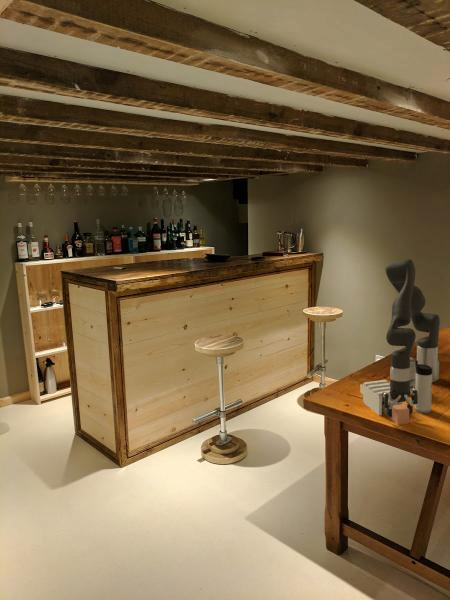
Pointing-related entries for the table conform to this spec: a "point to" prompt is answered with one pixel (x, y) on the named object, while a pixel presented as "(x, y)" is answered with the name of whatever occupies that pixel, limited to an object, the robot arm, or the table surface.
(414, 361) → the coffee box
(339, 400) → the table surface
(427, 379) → the travel mug
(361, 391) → the rod
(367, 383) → the tunnel
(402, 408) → the block
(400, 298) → the robot arm
